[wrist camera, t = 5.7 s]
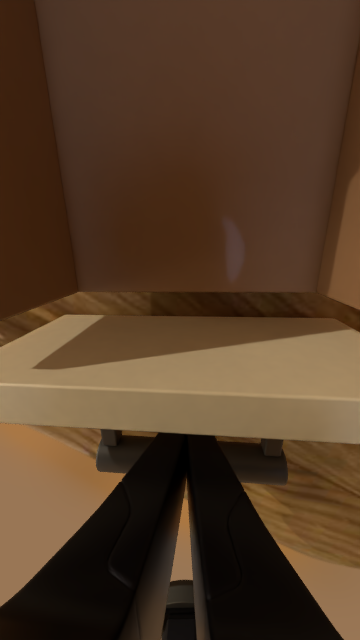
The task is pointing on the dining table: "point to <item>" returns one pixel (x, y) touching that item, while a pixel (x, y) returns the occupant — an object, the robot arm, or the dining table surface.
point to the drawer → (182, 218)
